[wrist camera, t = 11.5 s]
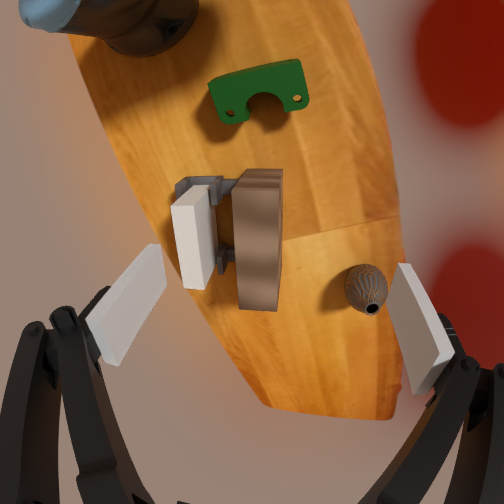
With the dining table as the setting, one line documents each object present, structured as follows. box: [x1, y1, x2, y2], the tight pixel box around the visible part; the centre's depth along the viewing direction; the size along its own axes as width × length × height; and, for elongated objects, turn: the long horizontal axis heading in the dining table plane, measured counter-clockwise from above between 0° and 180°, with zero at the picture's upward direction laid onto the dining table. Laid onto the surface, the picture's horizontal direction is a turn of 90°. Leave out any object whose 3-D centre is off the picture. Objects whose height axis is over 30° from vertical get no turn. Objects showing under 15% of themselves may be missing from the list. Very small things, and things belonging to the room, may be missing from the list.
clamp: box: [207, 59, 309, 124], centre depth 32 cm, size 12×6×9 cm, turn 98°
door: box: [171, 185, 219, 290], centre depth 41 cm, size 12×4×9 cm, turn 2°
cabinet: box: [175, 169, 283, 312], centre depth 40 cm, size 16×14×11 cm
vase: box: [344, 264, 388, 315], centre depth 42 cm, size 7×7×9 cm
